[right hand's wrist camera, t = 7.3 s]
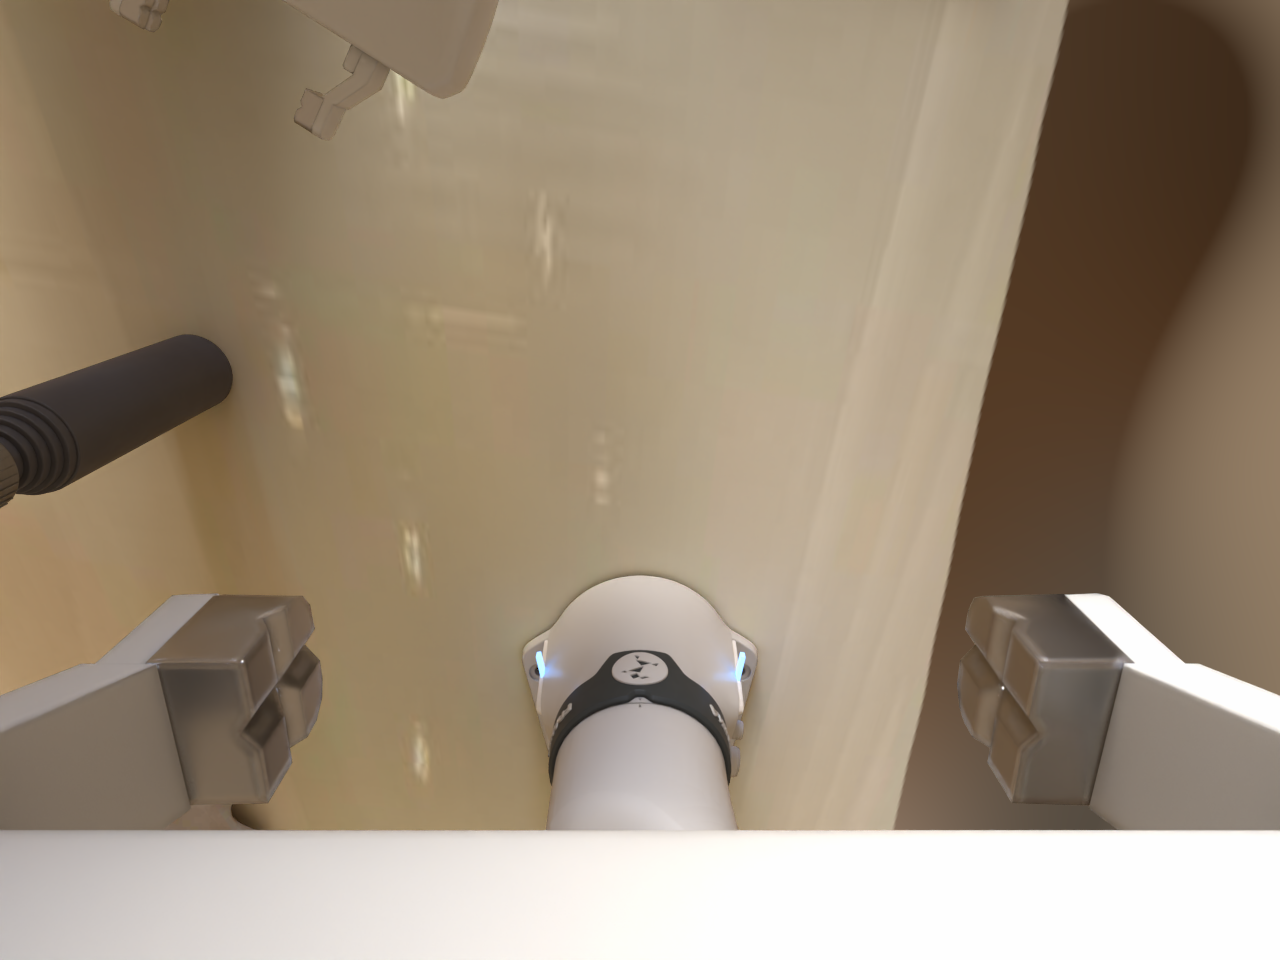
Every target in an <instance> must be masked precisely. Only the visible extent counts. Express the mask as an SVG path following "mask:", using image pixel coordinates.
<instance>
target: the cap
mask: <svg viewBox="0 0 1280 960" xmlns="http://www.w3.org/2000/svg"><path fill="white" fill-rule="evenodd" d="M18 485H19V473H18V469H17V466H16V463H15V461H14V459H13V457H12V456H11V454H10V453H9V452H8V450H7V449H6V448H5V447H4V446H3V445H2V444H1V443H0V508H1V507H3V506H5V505H7V504H8V502H9V501H10V500H12V499H13V497H14V495H15V494H16V492H17V489H18Z"/></svg>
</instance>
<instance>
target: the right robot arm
mask: <svg viewBox="0 0 1280 960" xmlns="http://www.w3.org/2000/svg"><path fill="white" fill-rule="evenodd" d="M314 629H315V627H314V622H313V617H312V612H311V607H310V604H309V603H308V602H307V601H306V600H305V598H304V597H303V596H278V595H220V594H185V595H172V596H171V597H170V598H169V599H168V600H166V601H165V602H164V603H163V604H162V605H161V606H160V607H159V608H157V609H156V610H155V611H154V612H153V613H152V614H151V615H150V616H148V617H147V618H146V619H145V620H144V621H143V622H142V623H140V624H139V625H138V626H137V627H136V628H135V629H134V630H133V631H131V632H130V633H129V634H128V635H127V636H126V637H125V638H124V639H122V640H121V641H120V642H119V643H118V644H117V645H116V646H114V647H113V648H112V649H111V650H110V651H109V652H108V653H107V654H105V655H104V656H103V657H102V658H101V659H100V660H99V661H97V662H96V663H95V664H79V665H77V666H74V667H72V668H69V669H67V670H64V671H62V672H59V673H57V674H54V675H52V676H49V677H46V678H44V679H41V680H39V681H36V682H34V683H31V684H29V685H26V686H24V687H21V688H18V689H16V690H13V691H11V692H8V693H6V694H3V695H1V696H0V960H1280V696H1279V695H1277V694H1274V693H1271V692H1269V691H1266V690H1264V689H1261V688H1259V687H1256V686H1254V685H1251V684H1249V683H1246V682H1244V681H1241V680H1239V679H1236V678H1233V677H1231V676H1228V675H1226V674H1223V673H1221V672H1218V671H1216V670H1213V669H1211V668H1208V667H1206V666H1203V665H1201V664H1185V663H1184V662H1183V661H1181V660H1180V659H1179V658H1178V657H1177V656H1176V655H1175V654H1174V653H1172V652H1171V651H1170V650H1169V649H1168V648H1167V647H1166V646H1165V645H1163V644H1162V643H1161V642H1160V641H1159V640H1158V639H1157V638H1156V637H1154V636H1153V635H1152V634H1151V633H1150V632H1149V631H1148V630H1146V629H1145V628H1144V627H1143V626H1142V625H1141V624H1140V623H1138V622H1137V621H1136V620H1135V619H1134V618H1133V617H1132V616H1131V615H1130V614H1128V613H1127V612H1126V611H1125V610H1124V609H1123V608H1122V607H1121V606H1119V605H1118V604H1117V603H1116V602H1115V601H1114V600H1113V599H1112V598H1110V597H1109V596H1106V595H1102V594H1098V593H1095V594H1073V595H1064V594H1050V595H1008V596H982V597H977V598H974V599H973V601H972V604H971V606H970V608H969V610H968V616H967V622H966V627H965V629H966V631H967V632H968V634H969V635H970V637H971V639H972V640H973V641H974V643H975V645H974V647H973V648H972V649H971V650H970V651H969V652H968V653H967V654H966V655H965V656H964V657H963V658H962V659H961V660H960V666H959V674H958V682H957V687H958V698H959V707H960V710H961V713H962V716H963V719H964V722H965V724H966V726H967V728H968V730H969V731H970V733H971V735H972V737H974V738H975V739H977V740H978V741H980V742H982V743H983V744H985V745H987V746H988V747H990V752H989V758H988V764H989V765H990V767H991V769H992V770H993V772H994V774H995V775H996V777H997V779H998V780H999V782H1000V784H1001V785H1002V787H1003V789H1004V790H1005V792H1006V794H1007V795H1008V797H1009V799H1010V800H1011V802H1012V803H1026V804H1063V805H1090V806H1089V809H1090V810H1092V811H1093V812H1094V813H1096V814H1097V815H1098V816H1100V817H1101V818H1103V819H1104V820H1105V821H1107V822H1108V823H1109V824H1111V825H1112V826H1113V827H1115V828H1116V829H1117V830H738V827H737V823H736V819H735V816H734V811H733V807H732V803H731V798H730V792H729V787H728V786H729V783H730V777H735V776H737V774H738V771H739V766H740V750H739V748H738V747H737V746H734V742H735V739H736V740H741V739H742V737H743V732H744V724H743V721H741V718H742V715H743V711H744V708H745V704H746V701H747V697H748V694H749V690H750V687H751V684H752V680H753V677H754V673H755V670H756V666H757V662H758V653H757V649H756V647H755V646H754V644H753V643H751V642H750V641H749V640H747V639H746V638H744V637H743V636H741V635H739V634H738V633H736V632H734V631H732V630H731V629H730V628H728V627H727V625H726V624H725V623H724V622H723V620H722V619H721V618H720V616H719V615H718V613H717V612H716V611H715V609H714V608H713V607H712V606H711V605H710V604H709V603H708V602H707V601H706V600H705V599H704V598H703V597H702V596H700V595H699V594H698V593H696V592H695V591H693V590H692V589H690V588H688V587H686V586H684V585H682V584H680V583H677V582H675V581H672V580H669V579H665V578H661V577H655V576H642V575H638V576H625V577H619V578H615V579H611V580H608V581H605V582H603V583H600V584H598V585H596V586H594V587H592V588H590V589H588V590H587V591H585V592H584V593H582V594H581V595H580V596H578V597H577V598H576V599H575V600H574V601H573V602H572V603H571V604H570V605H569V606H568V607H567V608H566V609H565V611H564V612H563V613H562V615H561V616H560V618H559V619H558V620H557V622H556V623H555V624H554V625H553V627H552V628H551V629H550V630H548V631H546V632H544V633H542V634H541V635H539V636H537V637H536V638H534V639H533V640H531V641H530V642H529V643H527V645H526V646H525V647H524V649H523V654H522V662H523V666H524V670H525V673H526V677H527V680H528V683H529V687H530V690H531V694H532V697H533V701H534V704H535V708H536V711H537V715H538V718H539V721H540V725H541V728H542V732H543V735H544V739H545V742H546V746H547V749H548V757H549V777H550V783H551V786H552V789H551V796H550V803H549V810H548V817H547V824H546V830H163V829H164V828H166V827H167V826H168V825H170V824H171V823H172V822H174V821H175V820H176V819H178V818H179V817H181V816H182V815H183V814H185V813H186V812H187V811H189V810H190V809H191V806H190V805H216V804H252V803H268V802H269V800H270V799H271V797H272V795H273V794H274V792H275V790H276V789H277V787H278V785H279V784H280V782H281V780H282V779H283V777H284V775H285V774H286V772H287V770H288V769H289V767H290V765H291V764H292V758H291V752H290V747H292V746H294V745H295V744H297V743H298V742H300V741H302V740H303V739H305V738H307V737H308V735H309V733H310V731H311V730H312V728H313V726H314V724H315V722H316V721H317V717H318V712H319V708H320V704H321V700H322V672H321V665H320V660H319V659H318V658H317V657H316V656H315V655H314V654H313V653H312V652H311V651H310V650H309V649H308V648H307V647H306V645H305V643H306V642H307V640H308V639H309V637H310V635H311V634H312V632H313V631H314ZM537 667H538V668H539V670H538V669H537Z"/></svg>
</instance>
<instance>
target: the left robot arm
mask: <svg viewBox="0 0 1280 960" xmlns="http://www.w3.org/2000/svg"><path fill="white" fill-rule="evenodd" d="M283 1H284V2H286V3H287V4H289V5H291V6H292V7H294V8H295V9H297V10H298V11H300V12H302V13H303V14H305V15H306V16H308V17H309V18H311V19H313V20H314V21H316V22H317V23H319V24H320V25H322V26H324V27H325V28H327V29H328V30H330V31H332V32H333V33H335V34H336V35H338V36H339V37H341V38H343V39H344V40H346V41H347V42H349V43H350V44H351V47H350V49H349V51H348V54H347V56H346V58H345V61H344V63H343V67H344V69H345V70H347V71H349V72H350V73H352V74H353V75H352V76H351V77H349V78H348V79H346V80H345V81H343V82H342V83H340V84H339V85H338V86H336V87H335V88H333V89H332V90H330V91H329V92H328V93H326V94H325V95H323V94H322V93H320V92H317V91H313V90H310V89H307V88H306V90H305V92H304V94H303V97H302V99H301V105H302V107H301V108H299V109H297V111H296V113H295V116H294V122H295V123H297V124H298V125H300V126H301V127H303V128H304V129H306V130H308V131H309V132H311V133H313V134H314V135H316V136H317V137H319V138H321V139H324V140H331V138H332V137H333V136H334V135H335V133H336V131H337V128H338V126H339V124H340V122H341V119H342V117H343V115H344V113H345V111H346V109H348V110H349V109H351V108H352V107H354V106H355V105H357V104H359V103H360V102H362V101H363V100H365V99H367V98H368V97H370V96H371V95H373V94H375V93H376V92H378V91H379V90H381V89H382V87H383V84H384V82H385V80H386V78H387V76H388V73H389V71H390V69H391V70H393V71H394V72H396V73H398V74H399V75H401V76H402V77H404V78H405V79H407V80H409V81H410V82H412V83H413V84H415V85H417V86H418V87H420V88H421V89H423V90H424V91H426V92H428V93H430V94H431V95H433V96H435V97H438V98H441V99H444V98H448V97H450V96H453V95H455V94H457V93H460V92H461V91H462V90H464V88H465V87H466V85H467V84H468V82H469V80H470V78H471V76H472V74H473V71H474V69H475V67H476V64H477V62H478V60H479V57H480V55H481V52H482V50H483V47H484V45H485V42H486V39H487V36H488V33H489V31H490V27H491V24H492V21H493V18H494V15H495V12H496V8H497V5H498V1H499V0H283ZM109 3H110V9H111V10H112V11H113V12H115V13H116V14H118V15H119V16H121V17H123V18H124V19H126V20H128V21H129V22H131V23H133V24H135V25H136V26H138V27H140V28H141V29H146V30H148V31H151V32H155V31H157V30H158V29H159V27H160V25H161V22H162V19H161V14H163V13H165V11H166V9H167V6H168V3H169V0H110V2H109Z"/></svg>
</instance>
